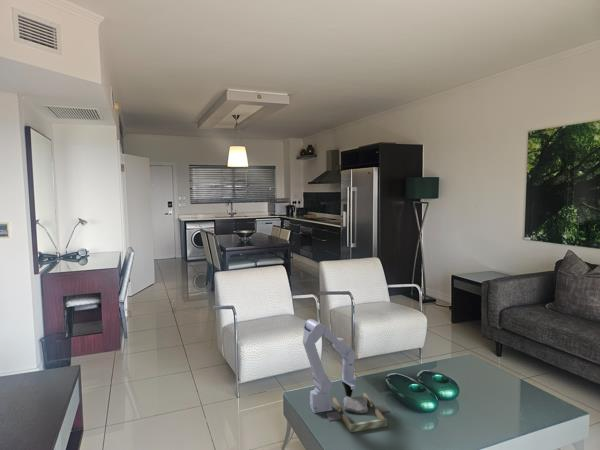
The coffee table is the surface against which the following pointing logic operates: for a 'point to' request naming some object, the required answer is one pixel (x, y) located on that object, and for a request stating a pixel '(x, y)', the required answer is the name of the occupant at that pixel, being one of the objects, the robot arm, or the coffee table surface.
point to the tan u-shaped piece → (363, 425)
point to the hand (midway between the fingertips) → (348, 396)
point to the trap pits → (336, 416)
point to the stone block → (355, 404)
